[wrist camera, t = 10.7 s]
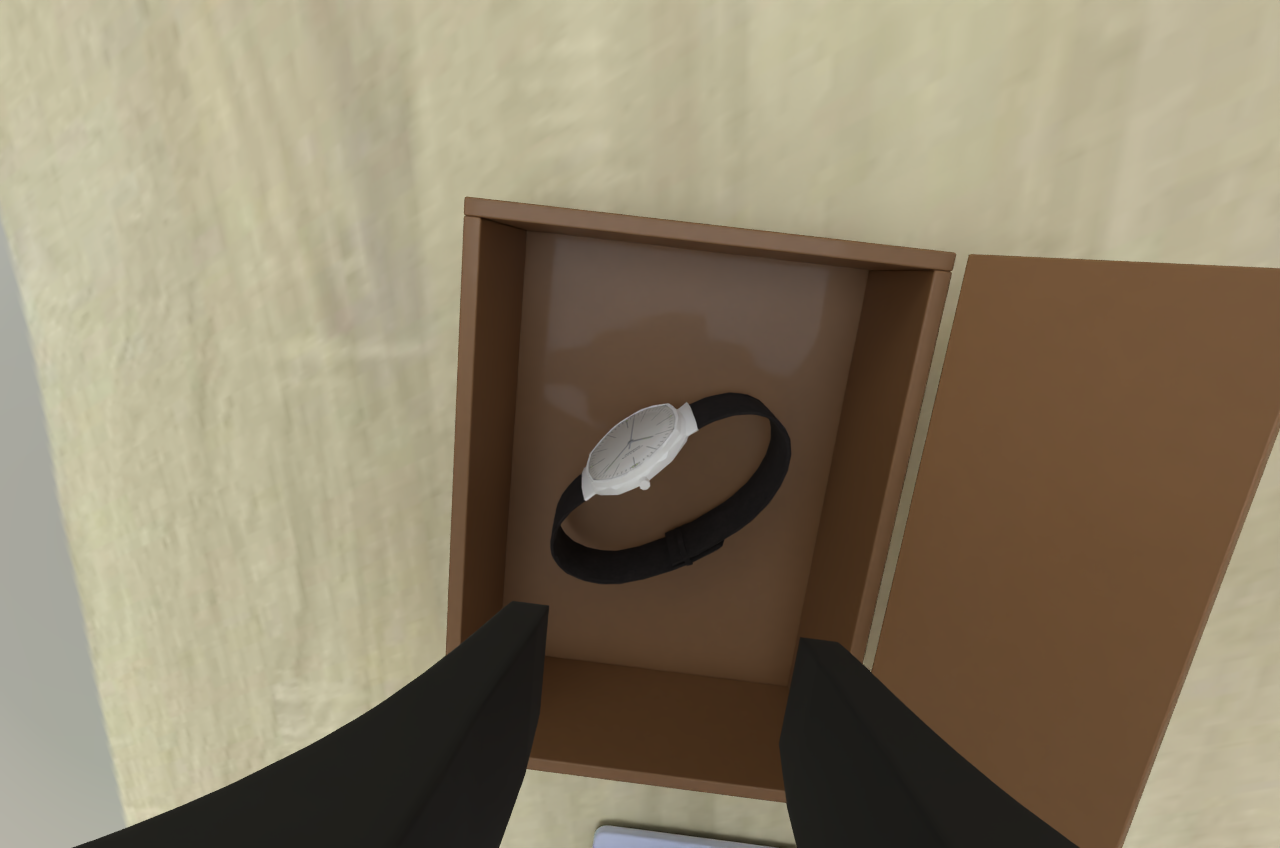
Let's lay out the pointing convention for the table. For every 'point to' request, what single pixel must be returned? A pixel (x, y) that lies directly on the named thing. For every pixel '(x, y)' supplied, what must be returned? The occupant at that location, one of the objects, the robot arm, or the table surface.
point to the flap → (1079, 518)
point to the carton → (680, 469)
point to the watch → (632, 463)
